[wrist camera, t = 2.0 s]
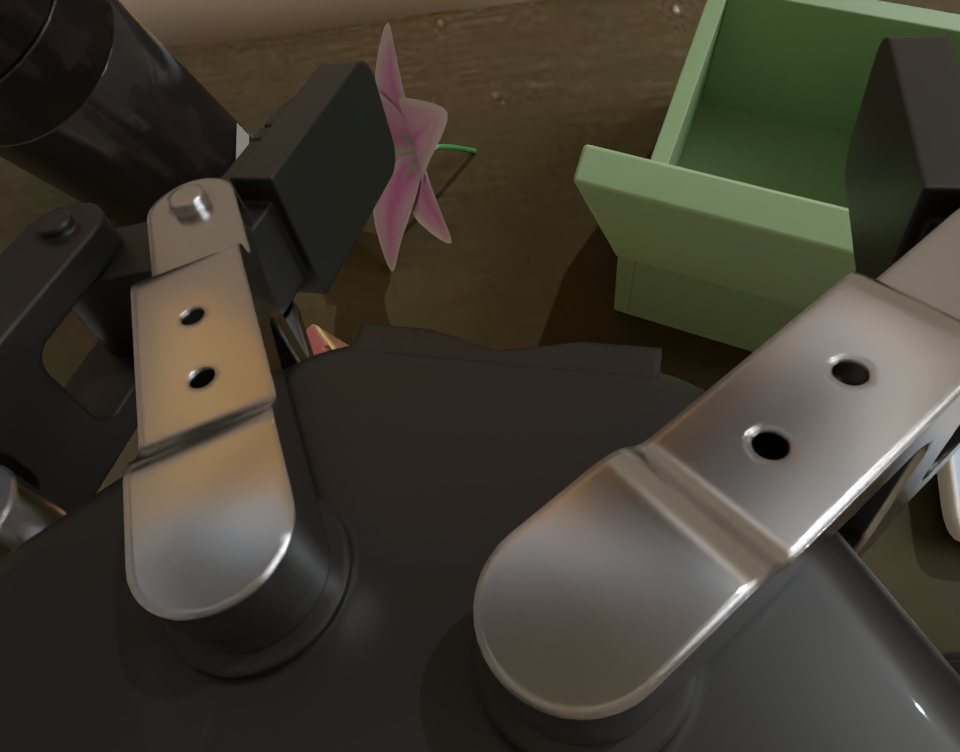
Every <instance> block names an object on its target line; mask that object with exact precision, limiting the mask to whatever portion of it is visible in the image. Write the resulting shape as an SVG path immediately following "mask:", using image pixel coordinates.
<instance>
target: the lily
mask: <svg viewBox="0 0 960 752" xmlns="http://www.w3.org/2000/svg"><path fill="white" fill-rule="evenodd" d="M330 63H331V62H330ZM375 81H376V85H377V88H378V91H379V95H380V98H381V101H382V105H383V108H384V111H385V115H386V118H387V122H388V125H389V128H390V132H391V135H392V138H393V142H394V147H395V167H394V172H393V175H392V177H391V179H390V181H389V182H388V184H387V186H386V188H385V190H384V191H383V193H382V195H381V197H380V199H379V200H378V202H377V204H376V206H375V207H374V209H373V215H374V222H375V227H376V231H377V235H378V239H379V242H380V245H381V248H382V251H383V254H384V257H385V260H386V262H387V265H388V267H389V268H390V270H391V271H394V269H395V266H396V262H397V258H398V253H399V249H400V244H401V240H402V237H403V234H404V231H405V228H406V225H407V223H408V220H409V217H410V214H411V211H412V213H413V215H414V217H415V219H416V220H417V221H418V222H419V223H420V224H421V225H422V226H423V227H424V228H425V229H427V230H428V231H429V232H430V233H431V234H433V235H434V236H436V237H437V238H438V239H440V240H442V241H444V242H446V243H448V244H449V243H452V241H451V236H450V234H449V231H448V228H447V226H446V223H445V221H444V218H443V216H442V213H441V210H440V208H439V205H438V203H437V200H436V197H435V195H434V192H433V189H432V187H431V184H430V181H429V178H428V175H427V171H426V168H427V166H428V163H429V161H430V159H431V157H432V155H433V153H434V151H435V150H443V149H445V150H457V151H463V152H469V153H474V154H475V153H476V152H477V150H476V149H474V148H469V147H464V146H458V145H449V144H438V143H439V141H440V138H441V136H442V134H443V132H444V129H445V126H446V124H447V112H446V111H445V109H444V108H443V107H441V106H439V105H437V104H434V103H431V102H426V101H422V100H416V99H409V98H405V95H404V91H403V86H402V82H401V77H400V72H399V67H398V62H397V57H396V52H395V47H394V42H393V37H392V32H391V27H390V25H389V23H387V24H386V25H385V28H384V31H383V34H382V37H381V41H380V46H379V50H378V56H377V63H376V74H375Z"/></svg>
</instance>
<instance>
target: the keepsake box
mask: <svg viewBox="0 0 960 752" xmlns="http://www.w3.org/2000/svg"><path fill="white" fill-rule="evenodd" d="M925 35H947V36H948V37H949V40H950V43H951V45H952V48H953V51H954V54H955V57H956V60H957V62H958V65H959V68H960V15H958V14H953V13H947V12H941V11H936V10H930V9H924V8H918V7H913V6H907V5H901V4H895V3H890V2H884V1H878V0H707V1H706V4H705V7H704V10H703V13H702V15H701V18H700V21H699V24H698V27H697V29H696V32H695V35H694V38H693V41H692V43H691V46H690V49H689V52H688V55H687V58H686V60H685V63H684V66H683V69H682V72H681V74H680V77H679V80H678V83H677V86H676V89H675V91H674V94H673V97H672V100H671V103H670V105H669V108H668V111H667V114H666V117H665V120H664V122H663V125H662V128H661V131H660V134H659V136H658V139H657V142H656V145H655V148H654V150H653V153H652V156H651V159H650V160H654V161H658V162H662V163H666V164H670V165H674V166H678V167H682V168H686V169H690V170H694V171H698V172H702V173H707V174H711V175H715V176H719V177H723V178H727V179H731V180H735V181H739V182H743V183H747V184H751V185H755V186H759V187H763V188H768V189H772V190H776V191H780V192H784V193H788V194H792V195H796V196H800V197H804V198H808V199H812V200H816V201H820V202H825V203H829V204H833V205H837V206H841V207H845V208H848V201H847V193H846V185H845V168H846V159H847V153H848V148H849V144H850V140H851V136H852V133H853V130H854V126H855V123H856V120H857V116H858V113H859V110H860V106H861V103H862V99H863V96H864V93H865V89H866V86H867V83H868V79H869V76H870V73H871V69H872V66H873V62H874V59H875V56H876V53H877V50H878V48H879V46H880V44H881V42H882V40H883V39H884V38H885V37H904V36H925ZM614 310H616V311H620V312H623V313H626V314H629V315H633V316H636V317H639V318H643V319H646V320H649V321H652V322H656V323H659V324H662V325H666V326H669V327H672V328H676V329H679V330H682V331H685V332H689V333H692V334H695V335H699V336H702V337H705V338H709V339H712V340H715V341H718V342H722V343H725V344H728V345H732V346H735V347H738V348H742V349H745V350H748V351H751V352H754V351H755V350H756V349H758V348H759V347H760V346H761V345H762V344H764V343H765V342H766V341H767V340H769V339H770V338H771V337H772V336H773V335H775V334H776V333H777V332H778V331H779V330H781V329H782V328H783V327H784V326H785V325H787V324H788V323H789V322H790V321H791V320H793V319H794V318H795V317H796V316H797V315H799V314H800V313H801V312H802V311H803V310H805V309H802V308H799V307H795V306H792V305H788V304H785V303H781V302H778V301H774V300H771V299H767V298H764V297H760V296H756V295H753V294H749V293H746V292H742V291H739V290H735V289H732V288H728V287H725V286H721V285H718V284H714V283H711V282H707V281H704V280H700V279H696V278H693V277H689V276H686V275H682V274H679V273H675V272H672V271H668V270H665V269H661V268H658V267H654V266H651V265H647V264H644V263H640V262H637V261H633V260H629V259H626V258H622V257H619V256H618V260H617V273H616V286H615V300H614Z"/></svg>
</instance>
